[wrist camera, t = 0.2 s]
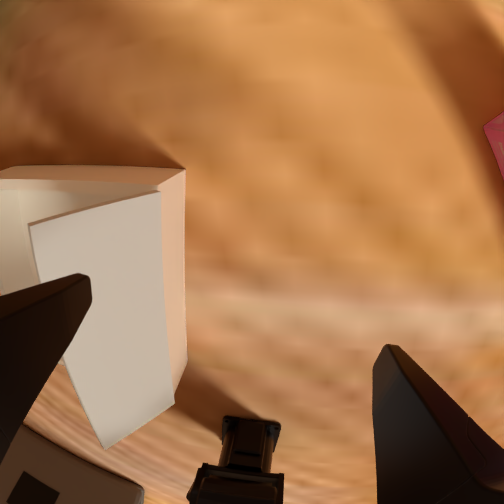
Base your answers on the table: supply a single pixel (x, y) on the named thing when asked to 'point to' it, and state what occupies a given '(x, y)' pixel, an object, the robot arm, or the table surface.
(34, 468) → the laptop
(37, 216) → the carton
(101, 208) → the flap
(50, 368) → the robot arm
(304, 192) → the table surface
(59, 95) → the table surface
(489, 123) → the gum box
